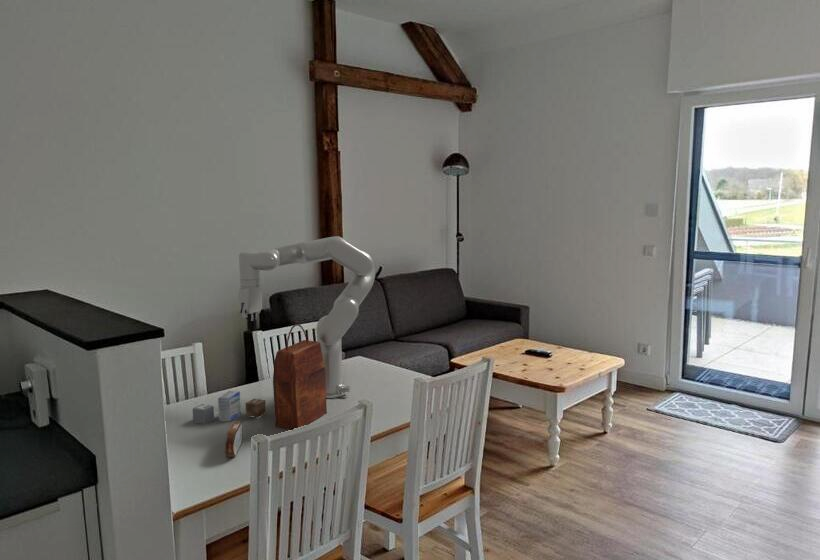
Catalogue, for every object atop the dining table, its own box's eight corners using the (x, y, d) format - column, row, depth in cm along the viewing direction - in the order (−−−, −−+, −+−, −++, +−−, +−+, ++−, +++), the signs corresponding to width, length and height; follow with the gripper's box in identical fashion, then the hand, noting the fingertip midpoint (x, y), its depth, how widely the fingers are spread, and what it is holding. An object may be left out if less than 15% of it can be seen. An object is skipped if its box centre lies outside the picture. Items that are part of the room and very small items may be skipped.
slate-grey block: (214, 419, 209) (213, 405, 209) (204, 424, 205) (204, 409, 204) (202, 417, 211) (202, 403, 210) (193, 422, 206) (192, 408, 206)
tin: (235, 441, 190) (234, 416, 189) (245, 441, 190) (244, 416, 189) (224, 462, 175) (223, 435, 174) (235, 461, 176) (234, 434, 174)
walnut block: (265, 413, 215) (265, 399, 214) (257, 417, 210) (257, 404, 210) (254, 411, 217) (253, 398, 216) (246, 416, 212) (245, 402, 211)
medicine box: (230, 422, 206) (229, 398, 205) (218, 421, 207) (217, 397, 206) (241, 413, 214) (240, 391, 213) (230, 413, 215) (228, 390, 214)
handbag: (272, 427, 202) (267, 328, 197) (305, 407, 220) (301, 316, 214) (297, 432, 198) (292, 331, 192) (329, 412, 215) (325, 319, 210)
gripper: (253, 280, 233) (255, 325, 236) (229, 285, 219) (232, 333, 222) (269, 281, 231) (271, 326, 233) (246, 286, 217) (248, 335, 220)
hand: (252, 330), depth 228 cm, fingers closed
